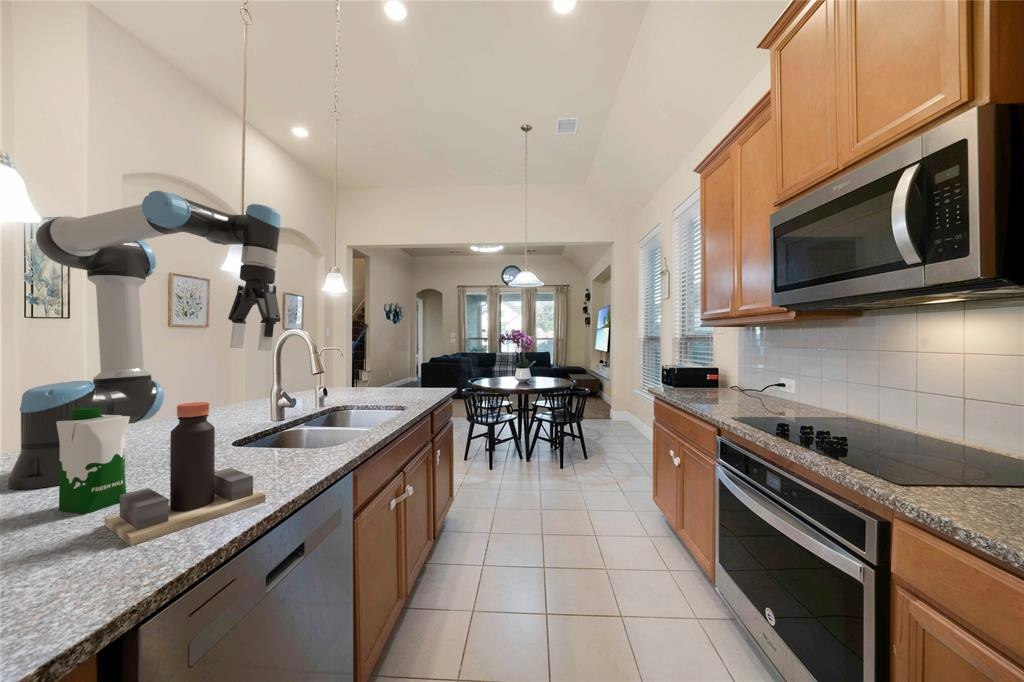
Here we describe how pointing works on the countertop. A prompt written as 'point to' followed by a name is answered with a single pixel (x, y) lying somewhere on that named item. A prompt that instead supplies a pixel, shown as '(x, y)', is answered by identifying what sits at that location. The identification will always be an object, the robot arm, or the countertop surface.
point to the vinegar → (192, 458)
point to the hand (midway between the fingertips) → (250, 349)
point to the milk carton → (91, 460)
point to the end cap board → (154, 517)
